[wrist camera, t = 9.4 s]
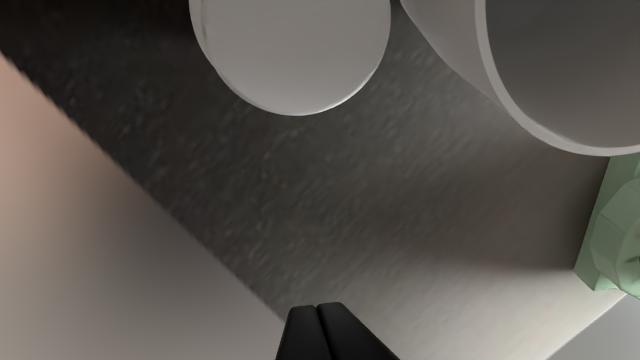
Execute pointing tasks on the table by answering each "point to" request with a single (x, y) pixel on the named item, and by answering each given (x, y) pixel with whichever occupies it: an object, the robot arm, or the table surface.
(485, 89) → the cup
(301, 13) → the pill bottle
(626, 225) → the control block
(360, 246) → the table surface
